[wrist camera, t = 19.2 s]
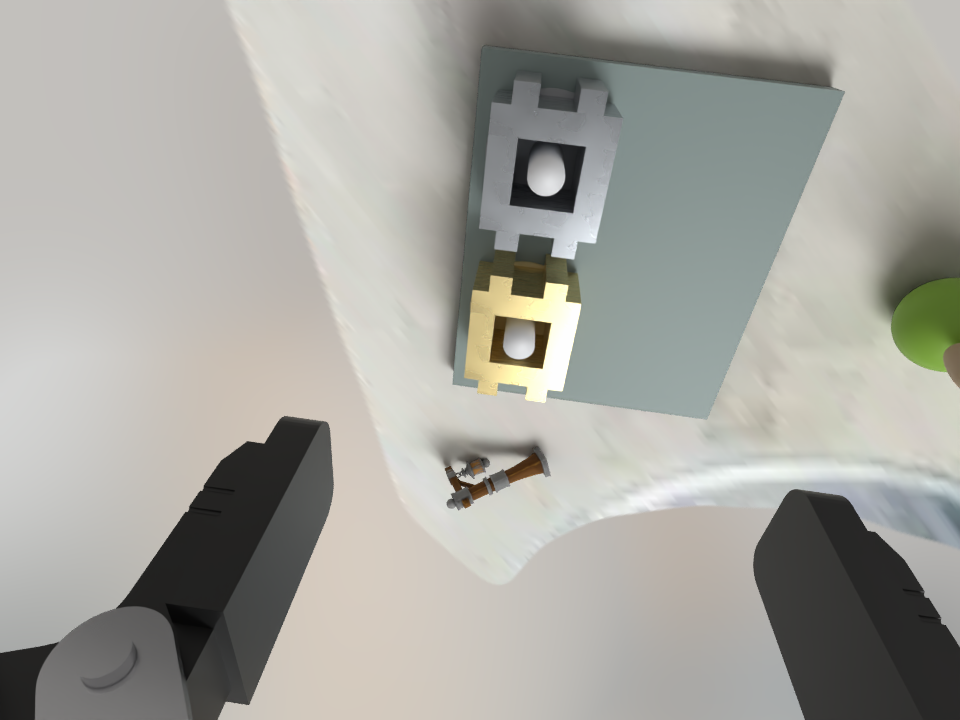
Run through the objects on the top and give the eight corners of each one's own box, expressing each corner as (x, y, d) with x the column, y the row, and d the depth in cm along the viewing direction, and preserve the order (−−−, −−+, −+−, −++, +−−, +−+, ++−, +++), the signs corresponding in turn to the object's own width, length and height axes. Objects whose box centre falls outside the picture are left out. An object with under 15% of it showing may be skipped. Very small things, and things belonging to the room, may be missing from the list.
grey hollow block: (618, 82, 28) (628, 94, 25) (586, 234, 32) (591, 261, 29) (500, 67, 28) (494, 77, 25) (484, 220, 33) (477, 247, 29)
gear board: (831, 87, 29) (892, 107, 24) (701, 406, 40) (724, 464, 35) (484, 45, 29) (471, 56, 24) (455, 372, 41) (442, 425, 36)
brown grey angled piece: (431, 466, 45) (446, 504, 41) (524, 427, 46) (547, 460, 42) (438, 483, 46) (453, 521, 42) (529, 444, 47) (552, 478, 43)
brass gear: (581, 257, 33) (585, 287, 30) (558, 367, 38) (559, 404, 34) (481, 245, 33) (474, 273, 30) (470, 356, 38) (462, 391, 34)
